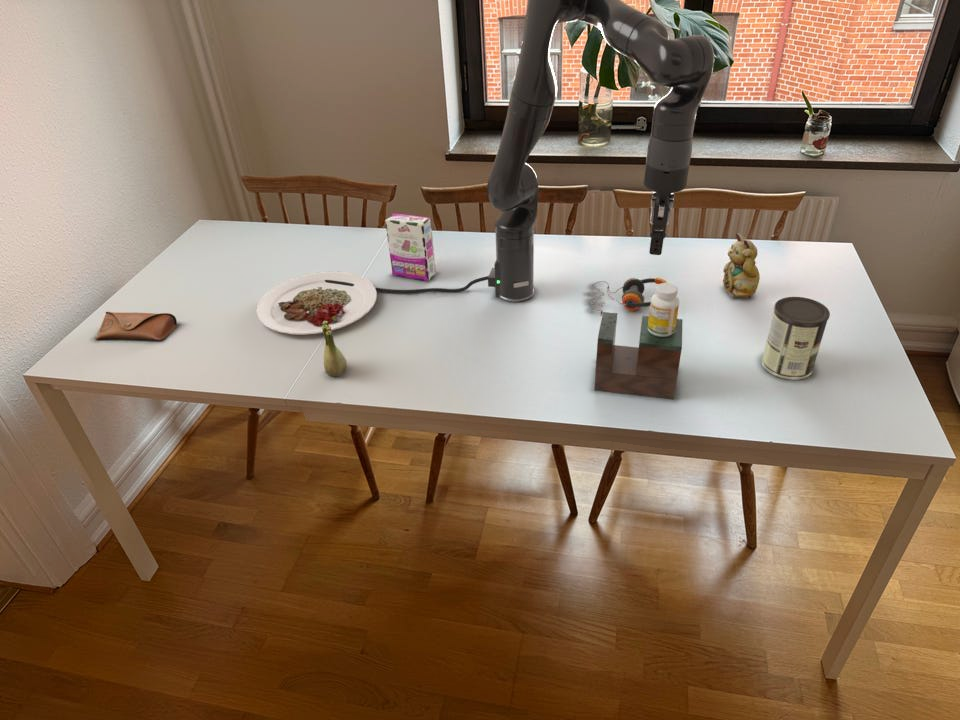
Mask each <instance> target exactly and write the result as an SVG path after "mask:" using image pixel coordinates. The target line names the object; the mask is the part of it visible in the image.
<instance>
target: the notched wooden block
mask: <svg viewBox="0 0 960 720" xmlns="http://www.w3.org/2000/svg"><path fill="white" fill-rule="evenodd" d="M648 319H649V315H642V316H641V324H640V332H639V341H638V346H627V345H618V344H616V334H617V324H618V312H609V311H608V312H607V311H603V314H602V316H601V319H600V325H599V329H598V335H597V342H596V358H595V370H594V371H595V374H594V388H593V389H594V391H599V392H606V393H607V392H608V393H616V394H625V395H631V396H632V395H633V396H640V397H641V396H642V397H649V398H657V399H658V398H659V399H666V400H667V399H668V400H674V399H675V393H676V388H677V382H678V381H677V380H678V374H679V369H680V362H681V356H682V350H683V318H677V320H676V326H675V331H674V333H673V334H672V335H670V336H667V337H659V336H655V335H653V334H651V333H650V332H649V331H648Z"/></svg>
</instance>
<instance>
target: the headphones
mask: <svg viewBox="0 0 960 720" xmlns="http://www.w3.org/2000/svg"><path fill="white" fill-rule="evenodd" d="M599 283H606V284H607V287H606V289H607V290H606V291H607V296H608V298H610V299H611V300H613V301H615V302H617V303H618V304H620V305H622V306H623V307H624V309H626V310H627V311H632V312H633V311H637V310H639V309H641V308H646V307H647V308H648V307H650V303H651V300H650V301H645V296H644V292H645V284H649V283H650V284H651V283H654V284H656V285H659V284H661V283H668V282H667V281H666V280H665V279H664V278H660V277H655V278H653V277H652V278H651V277H648V278H643V279H639V278H636V277H630V278H628V279H626V281H624V283H623V285H622V286H621V287H619V288H618V289H616V291H613V292H611V291H610V285H609V283H608V281H603V280H600V281H597V282H594V283H592V284H591V285H590V287H591V288H592V289H595V290H596V291H591V292H588V293H587V295H588V296H590V295H594V296H593V298H590V299H588V300H587V304H588V305H591V307H590V308H589V311H590V312H600V317H602V314H603V312H604V311H603V310H602V309H594V308H601V307H603V305H605V304H606V301H598V300H601V299H602V297H603V296H605V293H604V292H600V290H601V289H600V288H598V287H594V285H595V284H599ZM621 289H622V293H623V294H622V296H621V301H622V302H620V301H619V300H618V299H615V298H613V297H612V296H611V295H610V294H616V293H618V292H619V291H620V290H621Z"/></svg>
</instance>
